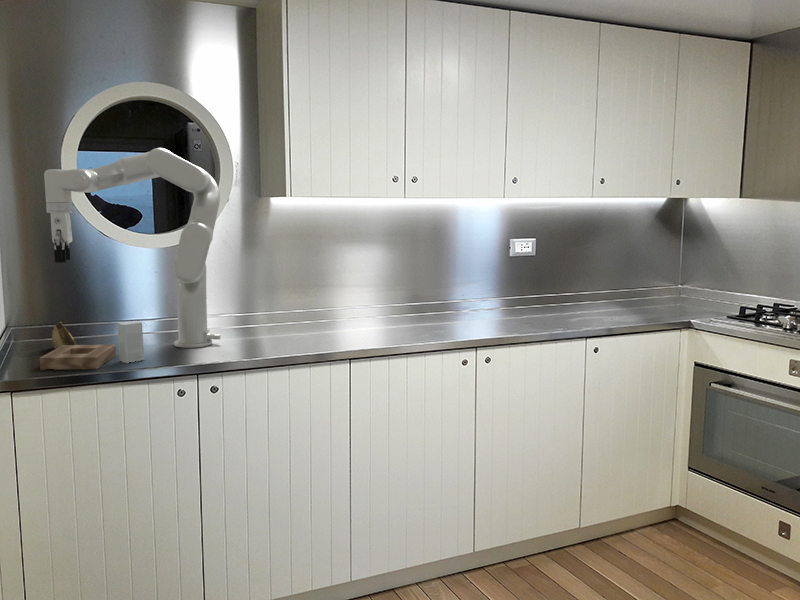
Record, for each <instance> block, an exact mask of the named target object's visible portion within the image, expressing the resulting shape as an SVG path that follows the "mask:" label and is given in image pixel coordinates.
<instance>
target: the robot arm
mask: <svg viewBox="0 0 800 600" xmlns="http://www.w3.org/2000/svg"><path fill="white" fill-rule="evenodd" d="M43 176H44V178H43V179H44V190H45V202H46V203H45V204H46V205H45V209H46V213H47V214H50V228H51V239H52V243H53V244H54V247H53V248H54V250H53V253H54V254H53V255H54V262H55V264H57V263H61V264H62V263H66V262H67V261H69V260H71V248H70V243H72V242H73V232H72V231H73V230H72V220H71V214H73V199H72V192H74V193H81V194H82V193H95V192H98V191H102V190H108V189H112V188H115V187H119V186H126V185H130V184H135V183H138V182H143V181H147V180H152V179H157V178H162V179H163V180H165V181H168V182H170V183H171V184H174V185H175V186H178V188H179V187H180V188H181V189H183V190H185V191H186V192H189V193H192V195H193V202H192V205H191V210H190V214H189V218H188V220H187V224H186V225H185V226H184V228H183V229H182V231H181V234H180V237H179V240H178V245H177V249H176V253H175V256H174V261H173V266H172V271H173V274H174V276H175V278H176V297H177V298H176V300H177V301H176V302H177V328H178V330H177V331H178V339H176V340H175V341H174V342H173V345H174V346H175V347H177V348H184V349H191V348H193V349H194V348H195V349H196V348H205V347H208V346H211V345H213V340H214V341H215V340H217V341H218V340H221V334H220V333H216V332H215V333H211V332H210V329H208V306H207V305H208V304H207V265H206V262H207V258H208V254H209V251H210V246H211V243H212V241H213V236H214V232H215V231H214V230H215V226H216V223H217V222H216V221H217V217H218V212H219V208H220V202H221V194H220V190H219V186H218V184H217V182H216V181H215V179H214V178H213V176H211V174H209V172H208V171H206V170H205V169H203V168H202V167H200V166H198V165H195V164H193V163H192V162H189V161H188V160H185V159H184V158H182V157H181V156H178V155H177V154H174V152H171V151H170V150H168V149H166V148H163V147H157V148H153V149H152V150H150V151H147V152H143V153H138V154H135V155H129V156H125V157H121V158H119V159H118V160H116V161H115V162H112V163H110V164H105V165H103V166H102V165H101V166H98V167H94V168H88V169H86V168H74V169H60V168H59V169H58V168H56V169H53V168H52V169H46V170H45V171H44V173H43ZM70 213H71V214H70Z"/></svg>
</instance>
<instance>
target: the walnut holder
mask: <svg viewBox="0 0 800 600" xmlns="http://www.w3.org/2000/svg"><path fill="white" fill-rule="evenodd" d="M114 356H115V357H117V351H116V344H77V345H62V346H61V347H59V348H57V349H56V348H54V349H53V350H52V351H50V352H48V353H46V354H44V355H42V356H41V357H39V367H40V368H39V369H40V371H41V370H42V371H43V370H44V371H45V370H46V369H54V370H98V369H99V368H101V367H102V366H104V365H105V364H106V363H108V362H109V361H111V360H112V359H113V358H114ZM107 361H108V362H107ZM104 363H105V364H104ZM103 364H104V365H103ZM100 366H101V367H100Z"/></svg>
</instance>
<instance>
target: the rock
mask: <svg viewBox="0 0 800 600" xmlns="http://www.w3.org/2000/svg"><path fill="white" fill-rule="evenodd" d="M51 340H52V341H51V343H52V346H53V348H54V349H57V348H59V347H61V346H62V345H78V344H77V342H76V341H75V340H74V337H73V335H72V334H71V333H70V332H69V331H68V329H67V328H66V327H65V326H64V324H63V323H62V321H59V322H58V323H56V324H54V326H53V329H52V333H51Z"/></svg>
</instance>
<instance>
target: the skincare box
mask: <svg viewBox="0 0 800 600" xmlns="http://www.w3.org/2000/svg"><path fill="white" fill-rule="evenodd" d="M143 335H144V333H143V322H141V321H137V320H132V321H126V322H125V321H124V322H117V336H118V337H117V338H118V339H117V340H118V354H119V356H118V357H119V362H120V361H122V362H121V363H123V362H125V363H124V364H130V363H129V362H131V363H136V362H141V360H142V361H145V351H144V349H145V348H144V336H143ZM135 361H136V362H135Z"/></svg>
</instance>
